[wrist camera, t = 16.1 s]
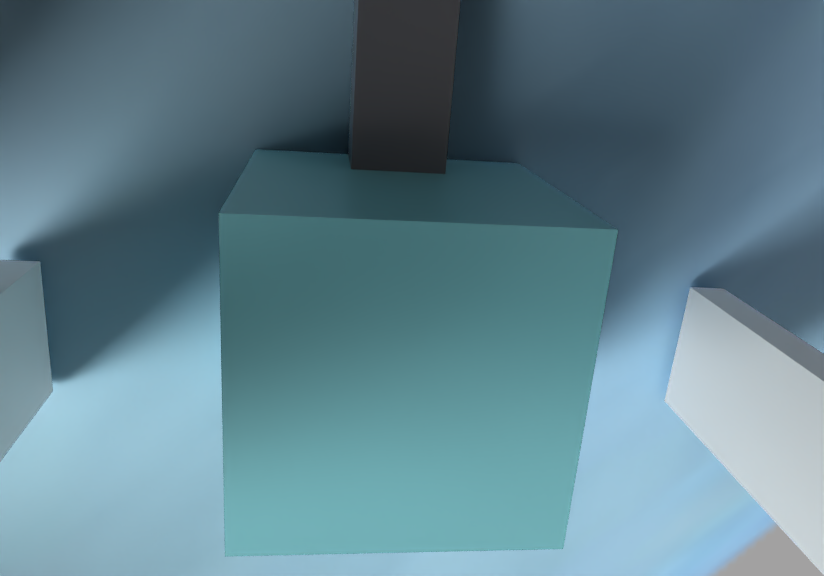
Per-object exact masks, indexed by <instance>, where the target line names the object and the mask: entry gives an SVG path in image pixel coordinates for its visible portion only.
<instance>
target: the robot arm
mask: <svg viewBox="0 0 824 576" xmlns="http://www.w3.org/2000/svg"><path fill="white" fill-rule="evenodd" d="M52 392H53V386H52V376H51V366H50V356H49V346H48V336H47V326H46V316H45V305H44V295H43V285H42V275H41V265H40V261H19V260H0V462H1V460H2V459H3V458H4V456H5V455H6V454H7V452H8V451H9V449H10V448H11V447H12V445H13V444H14V443H15V441H16V440H17V439H18V437H19V436H20V435H21V433H22V432H23V431H24V429H25V428H26V427H27V425H28V424H29V423H30V421H31V420H32V419H33V417H34V416H35V415H36V413H37V412H38V411H39V409H40V408H41V406H42V405H43V404H44V402H45V401H46V400H47V398H48V397H49V396H50V394H51V393H52ZM664 401H665V402H666V403H667V404H668V405H669V406H670V408H671V409H672V410H673V411H674V412H675V413H676V414H677V415H678V416H679V417H680V418H681V420H682V421H683V422H684V423H685V424H686V425H687V426H688V427H689V428H690V429H691V430H692V432H693V433H694V434H695V435H696V436H697V437H698V438H699V439H700V440H701V441H702V443H703V444H704V445H705V446H706V447H707V448H708V449H709V450H710V451H711V452H712V453H713V455H714V456H715V457H716V458H717V459H718V460H719V461H720V462H721V463H722V464H723V465H724V467H725V468H726V469H727V470H728V471H729V472H730V473H731V474H732V475H733V476H734V477H735V479H736V480H737V481H738V482H739V483H740V484H741V485H742V486H743V487H744V488H745V490H746V491H747V492H748V493H749V494H750V495H751V496H752V497H753V498H754V499H755V500H756V502H757V503H758V504H759V505H760V506H761V507H762V508H763V509H764V510H765V511H766V512H767V514H768V515H769V516H770V517H771V518H772V519H773V520H774V521H775V522H776V523H777V525H778V526H779V527H780V528H781V529H782V530H783V531H784V532H785V533H786V534H787V535H788V537H789V538H790V539H791V540H792V541H793V542H794V543H795V544H796V545H797V546H798V547H799V549H800V550H801V551H802V552H803V553H804V554H805V555H806V556H807V557H808V558H809V560H810V561H811V562H812V563H813V564H814V565H815V566H816V567H817V568H818V569H819V570H820V571H821V573H822V574H823V575H824V354H823V353H822V352H820V351H819V350H817V349H816V348H814V347H812V346H811V345H809V344H808V343H806V342H805V341H803V340H802V339H800V338H799V337H797V336H796V335H794V334H793V333H791V332H789V331H788V330H786V329H785V328H783V327H782V326H780V325H779V324H777V323H776V322H774V321H773V320H771V319H769V318H768V317H766V316H765V315H763V314H762V313H760V312H759V311H757V310H756V309H754V308H753V307H751V306H750V305H748V304H746V303H745V302H743V301H742V300H740V299H739V298H737V297H736V296H734V295H733V294H731V293H730V292H728V291H727V290H725V289H723V288H700V287H690V290H689V295H688V299H687V303H686V308H685V312H684V317H683V321H682V325H681V330H680V334H679V339H678V343H677V348H676V352H675V356H674V361H673V365H672V370H671V374H670V378H669V383H668V387H667V392H666V396H665V400H664Z"/></svg>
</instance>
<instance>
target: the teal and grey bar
mask: <svg viewBox="0 0 824 576" xmlns="http://www.w3.org/2000/svg"><path fill="white" fill-rule="evenodd" d="M460 1H461V0H354V21H353V45H352V69H351V93H350V117H349V141H348V154H337V153H319V152H300V151H281V150H263V149H256V150H255V151H254V153H253V155H252V157H251V158H250V160H249V162H248V163H247V165H246V167H245V169H244V170H243V172H242V174H241V175H240V177H239V179H238V181H237V182H236V184H235V186H234V188H233V189H232V191H231V193H230V194H229V196H228V198H227V200H226V201H225V203H224V205H223V206H222V208H221V210H220V212H219V263H220V316H221V369H222V423H223V476H224V529H225V556H268V555H313V554H358V553H403V552H448V551H493V550H538V549H563V547H564V541H565V535H566V529H567V524H568V518H569V512H570V506H571V501H572V495H573V489H574V483H575V477H576V472H577V466H578V460H579V454H580V448H581V443H582V437H583V431H584V425H585V420H586V414H587V408H588V402H589V396H590V391H591V385H592V379H593V373H594V367H595V362H596V356H597V350H598V344H599V339H600V333H601V327H602V321H603V315H604V310H605V304H606V298H607V292H608V286H609V281H610V275H611V269H612V263H613V258H614V252H615V246H616V240H617V234H618V229H616V228H615V227H613V226H612V225H610V224H609V223H607V222H606V221H604V220H603V219H601V218H600V217H598V216H597V215H595V214H594V213H592V212H591V211H589V210H588V209H586V208H585V207H583V206H582V205H580V204H579V203H577V202H576V201H574V200H573V199H571V198H570V197H568V196H567V195H565V194H564V193H562V192H561V191H559V190H558V189H556V188H555V187H553V186H552V185H550V184H549V183H547V182H546V181H544V180H543V179H541V178H540V177H538V176H537V175H535V174H534V173H532V172H531V171H529V170H528V169H526V168H525V167H523V166H522V165H520V164H519V163H505V162H487V161H468V160H449V159H447V150H448V138H449V127H450V115H451V104H452V93H453V81H454V70H455V58H456V47H457V35H458V24H459V13H460Z"/></svg>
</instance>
